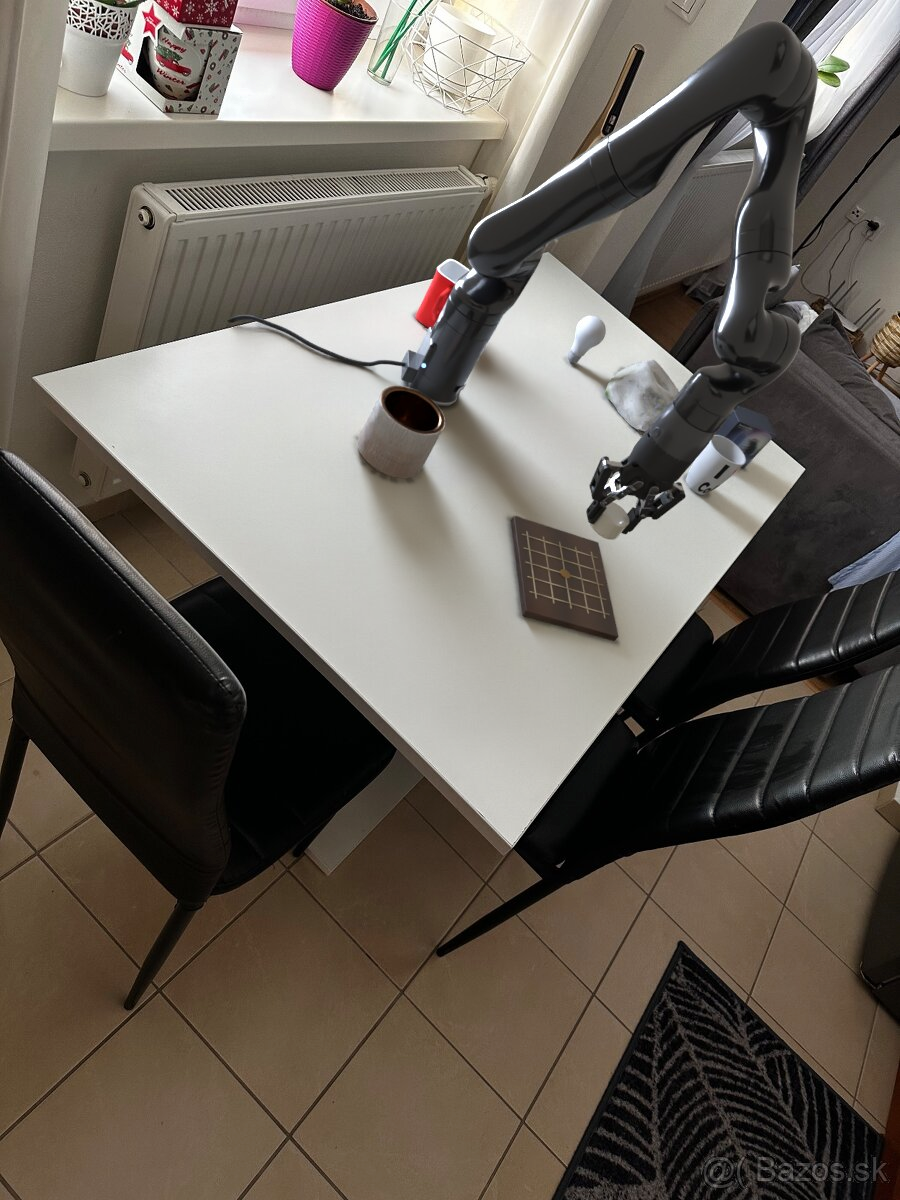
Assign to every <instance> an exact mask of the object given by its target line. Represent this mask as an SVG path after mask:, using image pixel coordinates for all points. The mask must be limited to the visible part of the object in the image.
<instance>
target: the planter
mask: <svg viewBox="0 0 900 1200" xmlns="http://www.w3.org/2000/svg"><path fill="white" fill-rule="evenodd" d="M445 427H446V418H445V415H444V412H443V411H442V409H441V408H440V406H438V405H437V404H436V403H435V402H434V401H433V400H431V399H430V398H429V397H427V396H426V395H424V394H423V393H421V392H419V391H417V390H415V389H412V388H409V387H408V386H405V385H391V386H387V387H385V388H384V389H383V390H381V392H380V394H379V396H378V398H377V400H376V402H375V404H374V406H373V408H372V410H371V412H370V414H369V416H368V417H367V420H366V421H365V423H364V426H363V427H362V429H361V432H360V434H359V436H358V441H357V447H358V450H359V452H360V455H361V456H362V458H363V459H364V460H365V461H366V463H368V464H369V466H371V468H374V469H375V470H377V471H378V472H380V473H382V474H383V475H387V476H389V477H393V478H397V479H408V478H409V479H410V478H413V477H415V476H416V475H417V474H419V473H420V472H421V470H422V469H423V467H424V465H425V464H426V462H427V460H428V458H429V457H430V454H431V452H432V451H433V449H434V447H435V446H436V444H437V442H438V440H439V438H440V436H441V434H442V432H443V431H444V429H445Z"/></svg>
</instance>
